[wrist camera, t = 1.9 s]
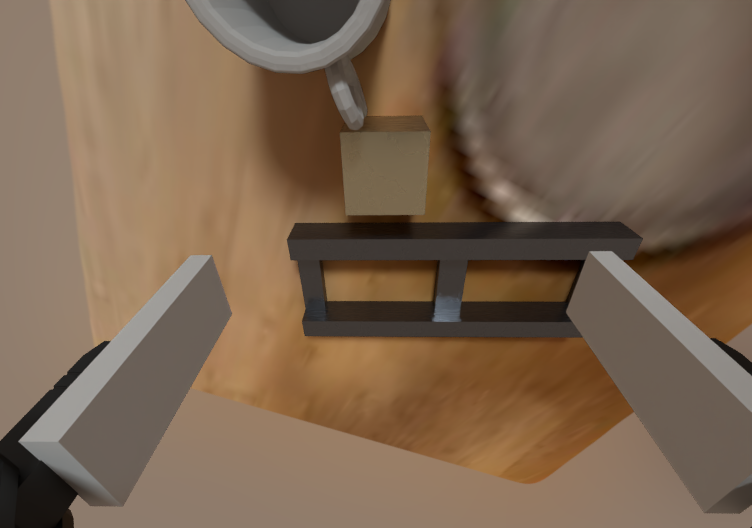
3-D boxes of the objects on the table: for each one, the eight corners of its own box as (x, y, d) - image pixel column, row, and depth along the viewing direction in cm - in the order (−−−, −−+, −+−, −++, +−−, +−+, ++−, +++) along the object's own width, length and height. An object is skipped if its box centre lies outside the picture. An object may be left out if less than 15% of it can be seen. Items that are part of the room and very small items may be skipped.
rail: (295, 223, 30) (286, 239, 27) (620, 221, 29) (643, 238, 26) (310, 315, 36) (304, 336, 33) (579, 316, 35) (595, 337, 32)
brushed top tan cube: (348, 116, 25) (339, 132, 20) (421, 115, 25) (430, 131, 20) (352, 187, 28) (345, 215, 23) (417, 186, 28) (424, 214, 23)
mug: (213, -81, 19) (81, -179, 11) (360, -167, 17) (338, -368, 9) (310, 132, 25) (273, 174, 17) (425, 86, 24) (448, 108, 15)
